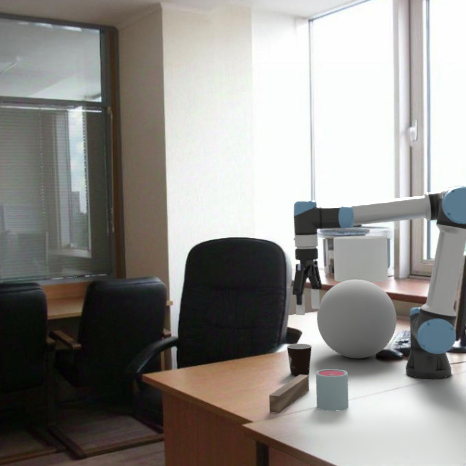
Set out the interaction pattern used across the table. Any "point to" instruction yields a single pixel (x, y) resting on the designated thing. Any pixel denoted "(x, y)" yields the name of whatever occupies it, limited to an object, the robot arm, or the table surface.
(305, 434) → the table surface
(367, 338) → the sphere
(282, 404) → the batten
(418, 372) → the robot arm
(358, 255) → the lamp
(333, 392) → the mug
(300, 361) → the coffee mug
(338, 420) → the table surface
